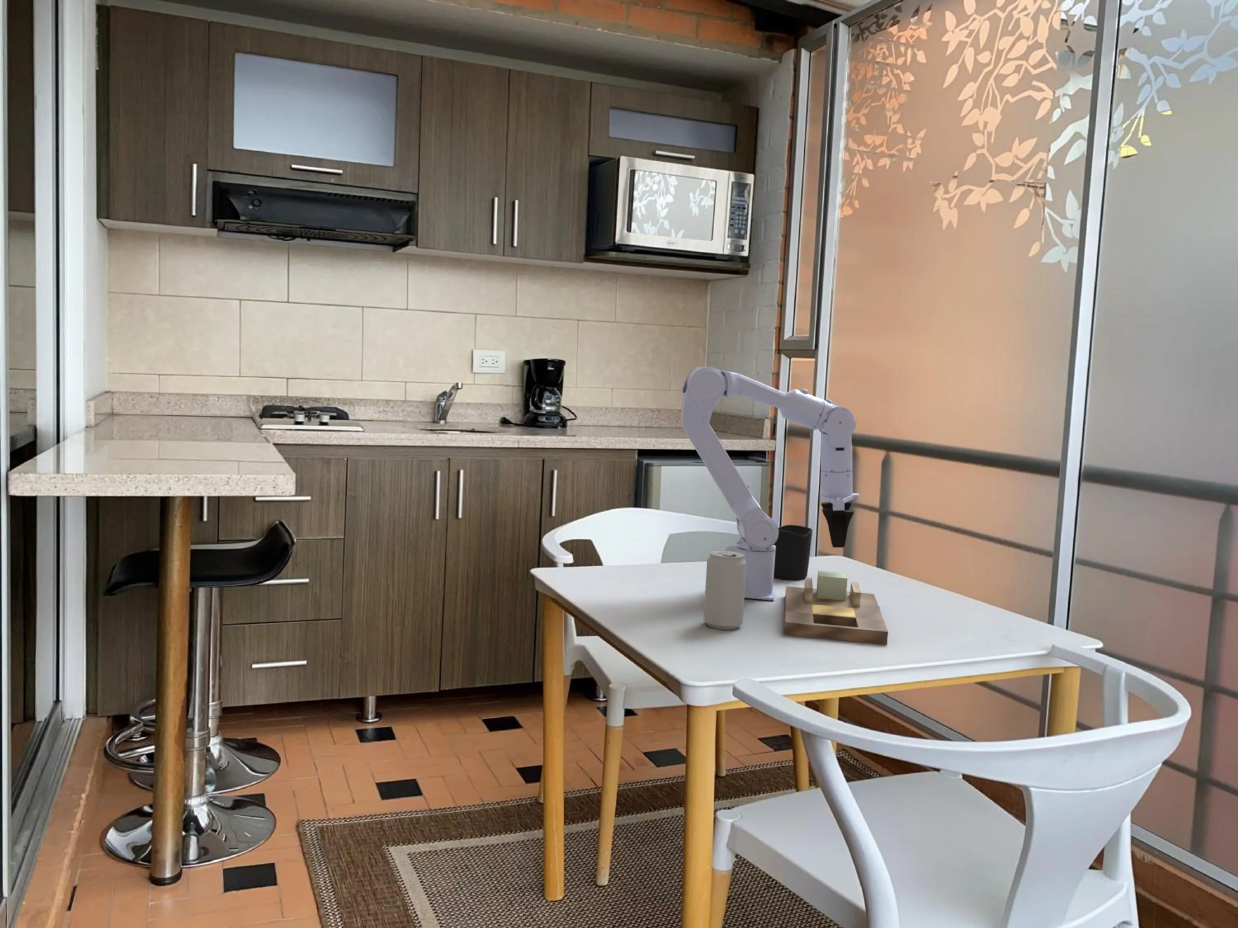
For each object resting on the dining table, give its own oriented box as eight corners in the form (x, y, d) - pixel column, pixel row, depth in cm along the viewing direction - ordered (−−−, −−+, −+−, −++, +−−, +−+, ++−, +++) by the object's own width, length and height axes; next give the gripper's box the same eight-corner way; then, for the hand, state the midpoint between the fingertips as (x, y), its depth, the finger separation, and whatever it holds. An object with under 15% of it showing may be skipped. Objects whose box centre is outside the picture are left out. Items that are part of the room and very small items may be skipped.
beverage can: (716, 631, 165) (721, 557, 164) (695, 621, 171) (700, 550, 169) (749, 629, 168) (755, 556, 167) (728, 619, 174) (732, 548, 172)
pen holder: (808, 582, 207) (812, 533, 206) (761, 578, 209) (764, 529, 208) (809, 573, 216) (813, 526, 215) (764, 569, 218) (767, 522, 217)
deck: (784, 634, 166) (786, 606, 165) (785, 596, 193) (787, 572, 193) (887, 644, 163) (889, 616, 163) (873, 604, 191) (875, 580, 190)
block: (817, 597, 184) (818, 575, 184) (816, 592, 189) (818, 570, 189) (845, 600, 183) (847, 578, 183) (844, 594, 188) (846, 572, 188)
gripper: (861, 475, 184) (862, 550, 185) (856, 466, 198) (857, 536, 199) (820, 475, 185) (821, 550, 186) (818, 466, 199) (819, 536, 200)
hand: (837, 543), depth 193 cm, fingers open, 7 cm apart
